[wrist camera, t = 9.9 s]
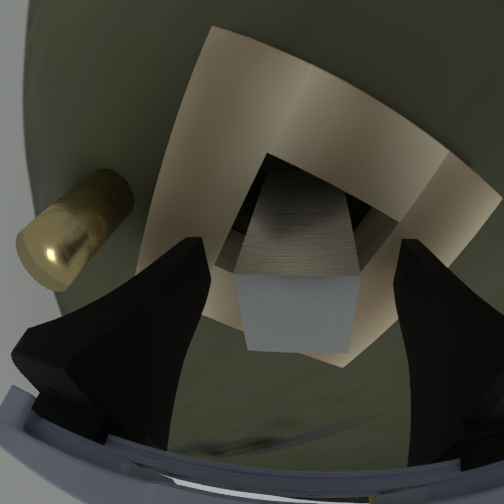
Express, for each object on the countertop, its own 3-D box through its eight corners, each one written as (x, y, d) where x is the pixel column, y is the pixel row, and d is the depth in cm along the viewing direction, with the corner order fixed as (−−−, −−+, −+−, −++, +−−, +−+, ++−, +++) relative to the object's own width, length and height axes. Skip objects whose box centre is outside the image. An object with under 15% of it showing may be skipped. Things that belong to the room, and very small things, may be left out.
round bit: (138, 182, 15) (69, 250, 10) (128, 229, 17) (71, 302, 12) (89, 160, 15) (12, 218, 10) (84, 208, 16) (20, 271, 12)
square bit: (339, 171, 13) (360, 275, 7) (338, 233, 15) (347, 353, 9) (266, 172, 14) (232, 273, 8) (272, 233, 15) (247, 350, 10)
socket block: (472, 169, 11) (502, 198, 9) (341, 327, 18) (342, 367, 16) (233, 31, 10) (211, 25, 8) (156, 248, 17) (133, 283, 15)
